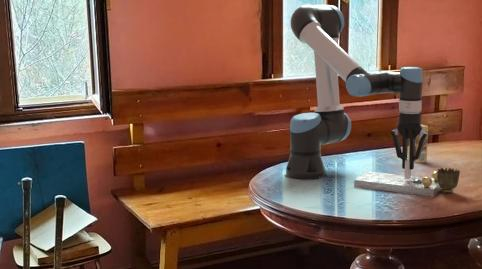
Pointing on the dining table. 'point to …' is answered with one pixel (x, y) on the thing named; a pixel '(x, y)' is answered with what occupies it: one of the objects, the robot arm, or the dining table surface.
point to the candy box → (424, 150)
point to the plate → (396, 183)
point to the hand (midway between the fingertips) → (407, 177)
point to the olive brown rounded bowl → (448, 179)
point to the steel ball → (417, 181)
